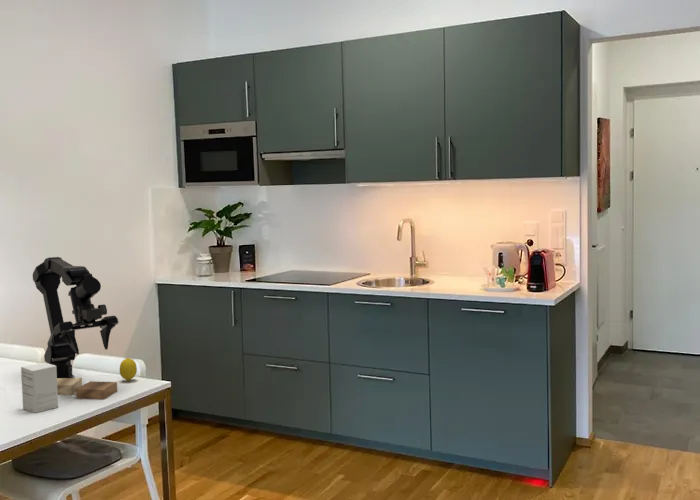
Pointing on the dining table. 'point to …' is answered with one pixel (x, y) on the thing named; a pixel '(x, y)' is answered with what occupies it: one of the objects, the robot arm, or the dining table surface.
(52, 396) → the supplement box
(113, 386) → the walnut block
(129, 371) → the lemon
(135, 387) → the dining table surface
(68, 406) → the dining table surface
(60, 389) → the pale oak block
